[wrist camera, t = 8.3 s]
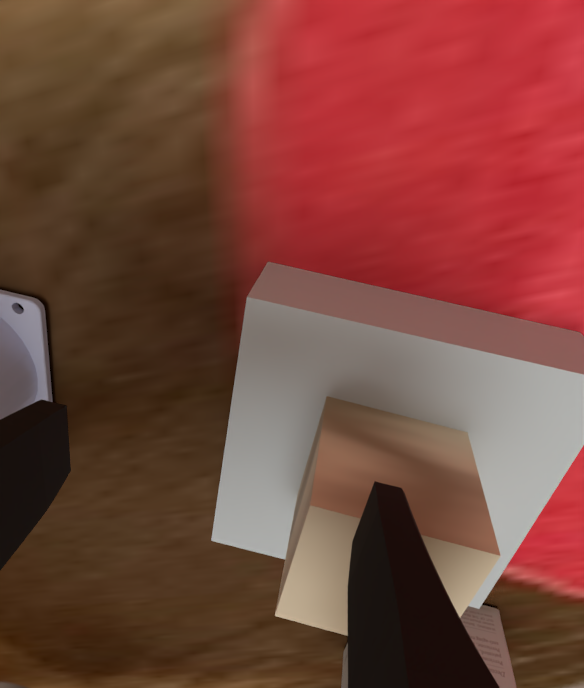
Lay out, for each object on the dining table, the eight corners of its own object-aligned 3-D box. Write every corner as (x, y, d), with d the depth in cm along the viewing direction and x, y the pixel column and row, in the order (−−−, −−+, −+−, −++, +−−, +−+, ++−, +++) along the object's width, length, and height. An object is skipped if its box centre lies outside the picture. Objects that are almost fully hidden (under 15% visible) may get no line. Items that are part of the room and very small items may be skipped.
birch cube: (297, 495, 19) (274, 615, 15) (327, 395, 17) (309, 505, 12) (419, 528, 19) (433, 659, 15) (467, 432, 17) (500, 555, 12)
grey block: (234, 476, 25) (211, 540, 21) (270, 257, 19) (246, 296, 15) (464, 533, 24) (479, 608, 21) (575, 326, 18) (622, 383, 15)
